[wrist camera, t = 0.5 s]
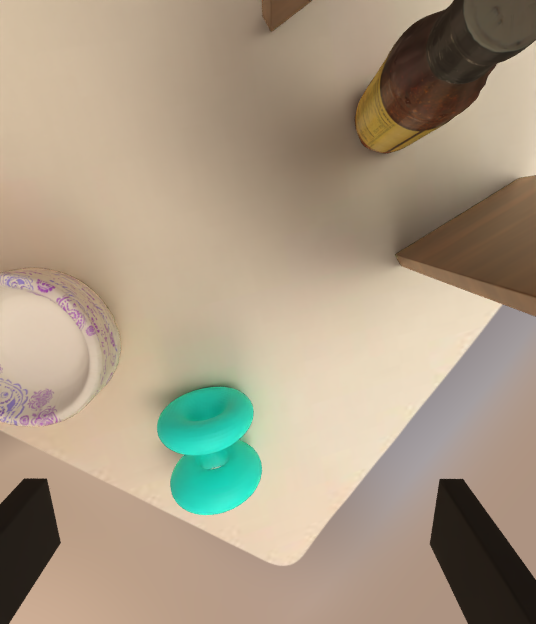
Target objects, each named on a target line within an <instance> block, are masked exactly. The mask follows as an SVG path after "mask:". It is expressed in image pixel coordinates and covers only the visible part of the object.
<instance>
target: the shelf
mask: <svg viewBox="0 0 536 624" xmlns="http://www.w3.org/2000/svg"><path fill="white" fill-rule="evenodd" d="M311 1H312V0H262V17H263V18H264V20H265V22H266V24H267V26H268V27H269V29H270V31H271V32H272V31H273V30H274V29H276V28H277V27H278V26H280V25H281V24H282V23H284V22H285V21H286V20H287V19H289V18H290V17H291V16H293V15H294V14H295V13H297V12H298V11H299V10H300V9H302V8H303V7H304V6H306V5H307V4H308V3H309V2H311ZM395 256H396V258H397V260H398V262H399V263H400V265H401V266H402V267H405V268H408V269H410V270H413V271H416V272H418V273H421V274H424V275H426V276H429V277H431V278H434V279H437V280H439V281H442V282H445V283H447V284H450V285H453V286H455V287H458V288H461V289H463V290H466V291H469V292H471V293H474V294H477V295H479V296H482V297H485V298H487V299H490V300H493V301H495V302H498V303H501V304H503V305H506V306H509V307H511V308H514V309H517V310H519V311H522V312H525V313H528V314H530V315H533V316H535V317H536V175H534V176H528V177H522V178H518V179H517V180H515V181H514V182H512V183H510V184H509V185H507V186H505V187H504V188H502V189H501V190H499V191H497V192H496V193H494V194H492V195H491V196H489V197H488V198H486V199H484V200H483V201H481V202H479V203H478V204H476V205H475V206H473V207H471V208H470V209H468V210H466V211H465V212H463V213H462V214H460V215H458V216H457V217H455V218H453V219H452V220H450V221H449V222H447V223H445V224H444V225H442V226H440V227H439V228H437V229H436V230H434V231H432V232H431V233H429V234H427V235H426V236H424V237H423V238H421V239H419V240H418V241H416V242H414V243H413V244H411V245H410V246H408V247H406V248H405V249H403V250H401V251H400V252H398V253H397V254H395Z"/></svg>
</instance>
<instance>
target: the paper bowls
mask: <svg viewBox="0 0 536 624" xmlns="http://www.w3.org/2000/svg"><path fill="white" fill-rule="evenodd" d="M120 351H121V343H120V334H119V331H118V328H117V326H116V323H115V321H114V318H113V316H112V314H111V312H110V311H109V309H108V307H106V305H105V303H104V302H103V301H102V299H101V298H100V297H99V296H98V295H97V294H96V293H95V292H94V291H93V290H91V289H90V288H89V287H88V286H87V285H85V284H84V283H82V282H80V281H79V280H77V279H76V278H74V277H72V276H69V275H67V274H65V273H61V272H57V271H54V270H50V269H45V268H23V269H17V270H11V271H5V272H0V421H2V422H4V423H8V424H12V425H17V426H27V427H36V426H46V425H51V424H55V423H58V422H61V421H64V420H66V419H68V418H70V417H72V416H74V415H75V414H77V413H78V412H80V411H81V410H82V409H83V408H84V407H85V406H86V405H87V404H88V403H89V402H90V401H91V400H92V399H93V398H94V397H95V396H96V395H97V394H98V393H99V392H100V391H101V390H102V389H103V387H104V386H105V385H106V384H107V383H108V382H109V381H110V379H111V378H112V376H113V374H114V372H115V370H116V367H117V365H118V362H119V356H120Z"/></svg>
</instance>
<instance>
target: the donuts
mask: <svg viewBox="0 0 536 624" xmlns="http://www.w3.org/2000/svg"><path fill="white" fill-rule="evenodd" d="M253 413H254V411H253V406H252V403H251V401H250V399H249V398H248V397H247V396H246V395H245V394H244V393H242V392H240V391H239V390H236V389H233V388H229V387H207V388H202V389H198V390H194V391H192V392H189V393H186V394H184V395H182V396H180V397H178V398H177V399H175V400H174V401H172V402H171V403H170V404H169V405H168V406H167V407H166V408H165V409H164V410H163V412H162V413H161V415H160V417H159V419H158V423H157V432H158V436H159V438H160V440H161V442H162V443H163V444H164V445H165V446H166V447H167V448H169V449H170V450H172V451H174V452H177V453H180V454H185V455H184V456H183V457H182V458H181V459H180V460H179V461H178V463H177V464H176V466H175V468H174V470H173V472H172V476H171V482H170V487H171V492H172V495H173V498H174V499H175V501H176V502H177V503H178V505H179V506H181V507H182V508H183V509H185V510H187V511H188V512H191V513H194V514H199V515H213V514H220V513H223V512H226V511H229V510H231V509H233V508H235V507H237V506H239V505H240V504H242V503H243V502H244V501H246V500H247V499H248V498H249V497H250V496H251V495H252V494H253V492H254V491H255V490H256V488H257V486H258V484H259V482H260V479H261V474H262V465H261V460H260V458H259V456H258V454H257V452H256V451H255V450H254V449H253V448H252V447H251V446H250V445H248V444H247V443H245V442H243V441H240V440H239V439H240V438H241V437H242V436H243V435H244V434H245V433H246V432H247V430H248V429H249V427H250V425H251V423H252V420H253ZM219 466H221V467H219ZM215 467H219V468H216V469H212V468H215Z"/></svg>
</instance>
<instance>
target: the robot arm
mask: <svg viewBox="0 0 536 624" xmlns="http://www.w3.org/2000/svg"><path fill="white" fill-rule="evenodd" d="M60 543H61V542H60V537H59V533H58V528H57V524H56V519H55V514H54V509H53V505H52V500H51V496H50V491H49V486H48V482H47V479H23V480H22V482H21V483H20V484H19V485H18V486H17V487H16V488H15V489H14V490H13V491H12V492H11V493H10V494H9V495H8V497H7V498H6V499H5V500H4V501H3V502H2V503H1V504H0V624H9V623H10V621H11V620H12V618H13V616H14V615H15V613H16V612H17V610H18V609H19V607H20V606H21V604H22V602H23V601H24V599H25V598H26V596H27V595H28V593H29V592H30V590H31V588H32V587H33V585H34V584H35V582H36V580H37V579H38V577H39V576H40V574H41V573H42V571H43V569H44V568H45V567H46V565H47V563H48V562H49V560H50V559H51V557H52V556H53V554H54V552H55V551H56V549H57V548H58V546H59V545H60ZM430 545H431V547H432V550H433V552H434V554H435V556H436V558H437V560H438V562H439V564H440V566H441V568H442V570H443V572H444V575H445V576H446V579H447V581H448V583H449V584H450V587H451V589H452V591H453V593H454V595H455V597H456V600H457V602H458V604H459V606H460V607H461V610H462V612H463V614H464V616H465V618H466V620H467V622H468V624H536V580H535V578H534V577H533V575H532V574H531V573H530V571H529V570H528V568H527V567H526V566H525V564H524V563H523V562H522V560H521V559H520V557H519V556H518V555H517V553H516V552H515V550H514V549H513V548H512V546H511V545H510V543H509V542H508V541H507V539H506V538H505V537H504V535H503V534H502V532H501V531H500V530H499V528H498V527H497V526H496V524H495V523H494V521H493V520H492V519H491V517H490V516H489V514H488V513H487V512H486V510H485V509H484V508H483V506H482V505H481V504H480V502H479V501H478V499H477V498H476V496H475V495H474V494H473V493H472V491H471V490H470V488H469V487H468V485H467V484H466V483H465V481H464V480H463V479H440V481H439V487H438V494H437V500H436V507H435V513H434V521H433V527H432V533H431V540H430Z"/></svg>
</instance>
